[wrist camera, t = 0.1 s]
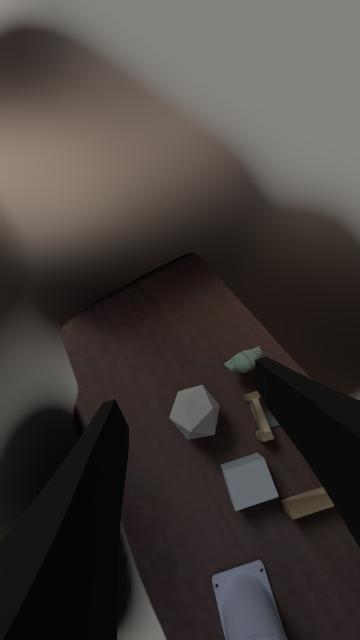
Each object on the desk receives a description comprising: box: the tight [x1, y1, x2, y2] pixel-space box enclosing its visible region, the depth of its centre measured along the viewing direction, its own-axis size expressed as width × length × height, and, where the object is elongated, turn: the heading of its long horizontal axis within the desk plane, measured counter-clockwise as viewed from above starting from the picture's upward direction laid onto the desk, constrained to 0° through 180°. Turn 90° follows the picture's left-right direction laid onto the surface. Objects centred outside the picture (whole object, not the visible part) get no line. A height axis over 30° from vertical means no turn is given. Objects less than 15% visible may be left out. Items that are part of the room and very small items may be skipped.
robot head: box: [225, 347, 262, 373], centre depth 38 cm, size 8×4×7 cm, turn 114°
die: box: [169, 385, 220, 439], centre depth 34 cm, size 8×9×10 cm
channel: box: [244, 391, 334, 519], centre depth 34 cm, size 18×8×3 cm, turn 15°
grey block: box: [221, 453, 279, 511], centre depth 32 cm, size 5×7×4 cm
